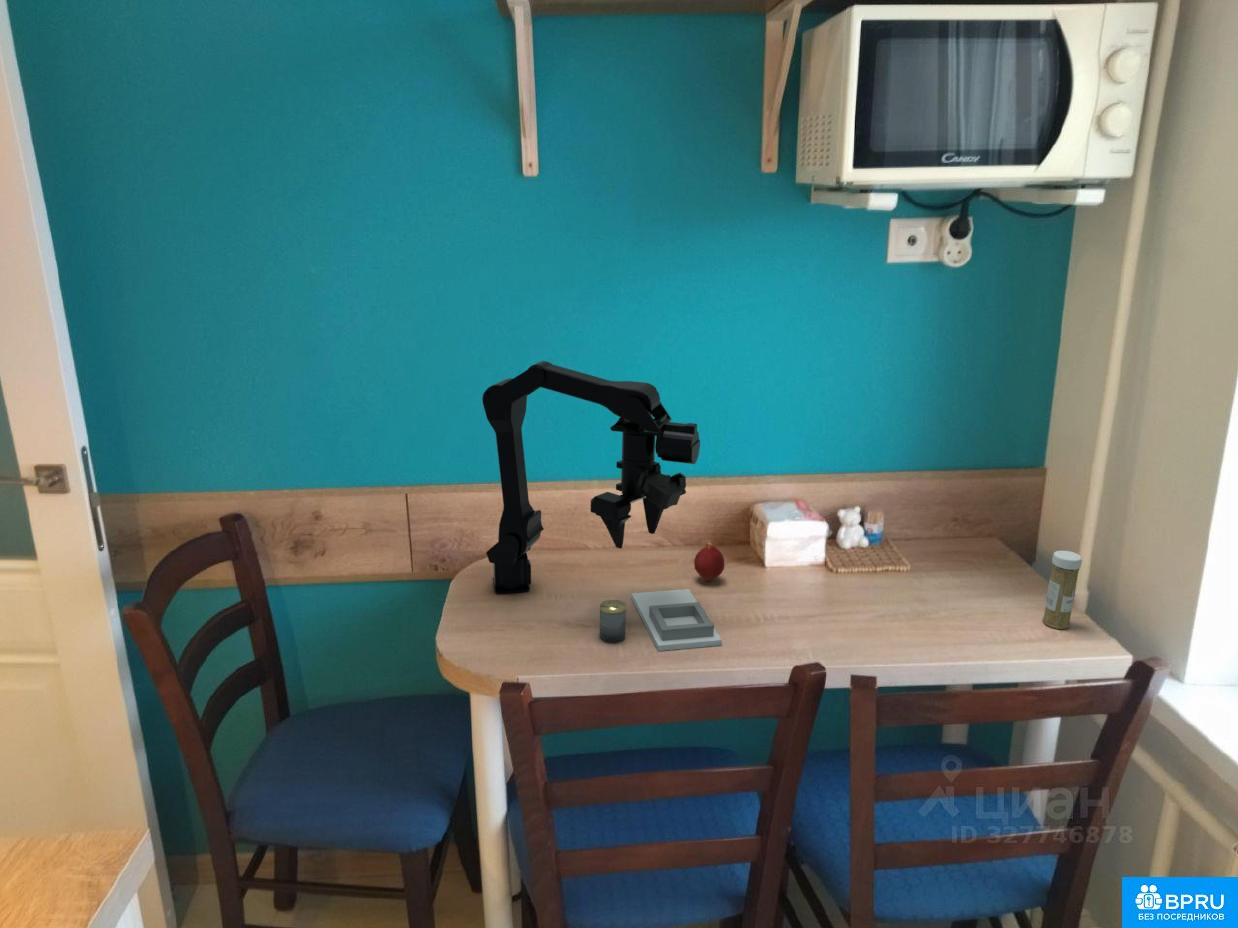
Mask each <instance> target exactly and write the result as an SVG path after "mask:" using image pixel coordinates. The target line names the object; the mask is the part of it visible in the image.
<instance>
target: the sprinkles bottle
mask: <svg viewBox="0 0 1238 928" xmlns="http://www.w3.org/2000/svg"><path fill="white" fill-rule="evenodd" d="M1082 561H1083V558H1082V556H1081V555H1080V554H1078V553H1076V552H1073V551H1070V550H1056V551H1054V552H1053V555H1052V560H1051V563H1052V564H1051V565H1052V567H1051V572H1050V577H1049V582H1048V587H1047V592H1046V599H1045V607H1044V614H1043V616H1042V622H1043V624H1044V625H1046V626H1047V627H1049V628H1052V629H1056V630H1066V629H1068V628H1069V627H1070V626H1071V622H1070V620H1071V615H1072V610H1073V608H1074V601H1075V596H1076V589H1077V581H1078V577H1079V576H1078V575H1079V571H1080V568H1081V566H1082Z"/></svg>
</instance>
